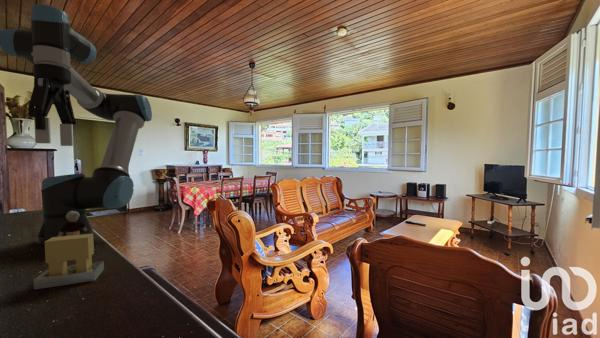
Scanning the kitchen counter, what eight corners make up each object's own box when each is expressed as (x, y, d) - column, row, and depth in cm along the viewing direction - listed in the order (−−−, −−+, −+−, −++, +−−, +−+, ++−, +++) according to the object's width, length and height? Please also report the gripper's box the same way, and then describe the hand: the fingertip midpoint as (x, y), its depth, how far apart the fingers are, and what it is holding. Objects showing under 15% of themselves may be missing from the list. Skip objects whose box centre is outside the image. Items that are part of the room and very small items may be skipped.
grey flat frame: (49, 276, 65) (49, 267, 65) (104, 269, 69) (103, 260, 69) (34, 289, 58) (33, 279, 58) (94, 280, 62) (94, 271, 62)
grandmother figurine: (66, 255, 79) (64, 213, 78) (56, 254, 80) (54, 213, 79) (91, 247, 86) (89, 208, 86) (81, 246, 87) (80, 208, 87)
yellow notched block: (54, 278, 64) (52, 237, 63) (94, 272, 67) (93, 233, 66) (46, 284, 60) (44, 241, 60) (89, 278, 63) (87, 237, 63)
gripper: (56, 78, 83) (59, 146, 84) (4, 47, 60) (8, 141, 60) (86, 80, 85) (89, 146, 86) (46, 51, 62) (51, 142, 63)
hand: (56, 144), depth 73 cm, fingers open, 13 cm apart
